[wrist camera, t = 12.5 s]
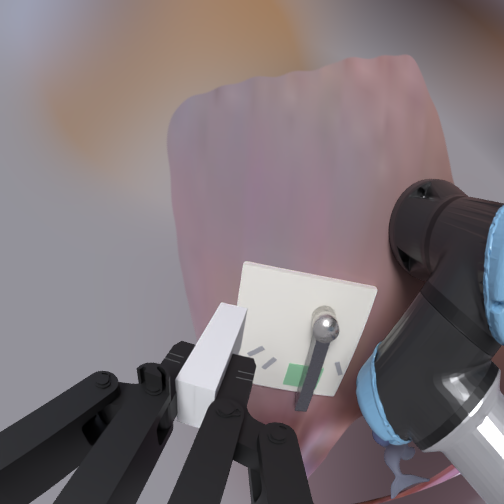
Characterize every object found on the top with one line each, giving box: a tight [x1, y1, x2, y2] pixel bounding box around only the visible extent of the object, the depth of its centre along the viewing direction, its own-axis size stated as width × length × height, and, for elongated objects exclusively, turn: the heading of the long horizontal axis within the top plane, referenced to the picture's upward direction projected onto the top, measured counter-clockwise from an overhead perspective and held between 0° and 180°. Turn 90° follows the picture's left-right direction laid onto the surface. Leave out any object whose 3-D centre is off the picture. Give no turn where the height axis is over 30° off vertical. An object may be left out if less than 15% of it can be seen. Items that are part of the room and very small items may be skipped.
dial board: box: [237, 261, 377, 396], centre depth 41 cm, size 20×22×2 cm
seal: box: [372, 430, 430, 499], centre depth 35 cm, size 8×12×20 cm
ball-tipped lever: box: [295, 306, 339, 411], centre depth 38 cm, size 19×4×4 cm, turn 174°
